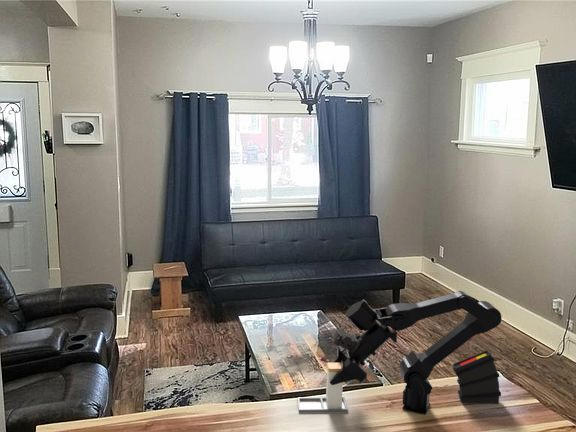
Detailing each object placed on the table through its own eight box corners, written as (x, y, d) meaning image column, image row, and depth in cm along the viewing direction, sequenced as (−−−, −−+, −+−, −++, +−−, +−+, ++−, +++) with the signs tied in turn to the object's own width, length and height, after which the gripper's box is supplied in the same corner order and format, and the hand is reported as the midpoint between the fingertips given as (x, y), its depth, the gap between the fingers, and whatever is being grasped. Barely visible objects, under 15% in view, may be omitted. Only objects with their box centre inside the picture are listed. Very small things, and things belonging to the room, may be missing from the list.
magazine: (511, 399, 165) (492, 354, 163) (468, 416, 167) (448, 372, 165) (506, 393, 169) (487, 349, 167) (464, 410, 170) (445, 366, 168)
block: (339, 402, 164) (341, 362, 162) (341, 409, 160) (343, 368, 158) (325, 402, 164) (327, 362, 162) (327, 409, 160) (328, 368, 158)
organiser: (344, 402, 166) (344, 397, 166) (347, 414, 159) (348, 409, 159) (297, 402, 165) (297, 397, 165) (298, 414, 159) (298, 409, 158)
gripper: (345, 309, 167) (307, 346, 169) (355, 334, 149) (312, 374, 150) (371, 335, 169) (333, 371, 170) (384, 362, 151) (341, 402, 152)
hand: (329, 378), depth 161 cm, fingers open, 6 cm apart
